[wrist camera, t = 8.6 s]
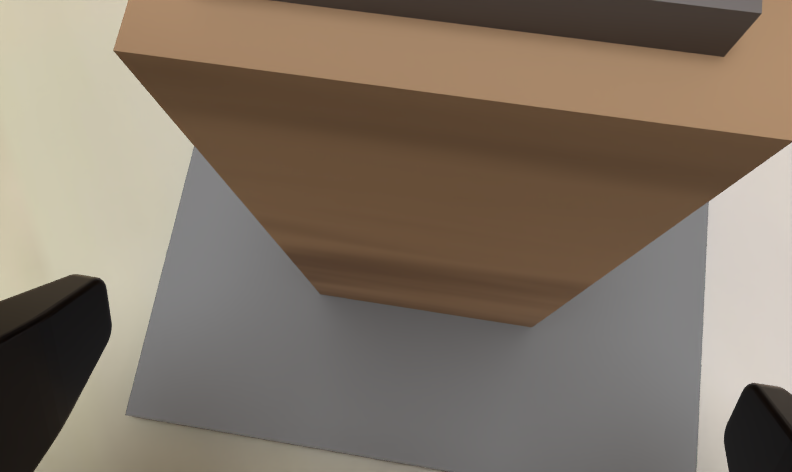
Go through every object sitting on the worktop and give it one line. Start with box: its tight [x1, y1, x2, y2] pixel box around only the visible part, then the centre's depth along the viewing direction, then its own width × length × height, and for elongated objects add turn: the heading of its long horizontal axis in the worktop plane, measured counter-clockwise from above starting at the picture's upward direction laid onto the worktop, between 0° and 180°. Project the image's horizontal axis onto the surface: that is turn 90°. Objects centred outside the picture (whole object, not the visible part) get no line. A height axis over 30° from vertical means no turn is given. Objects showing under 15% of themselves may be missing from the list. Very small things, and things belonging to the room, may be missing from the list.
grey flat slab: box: [125, 146, 709, 472], centre depth 18 cm, size 16×14×1 cm
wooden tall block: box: [113, 0, 792, 327], centre depth 12 cm, size 6×6×13 cm
